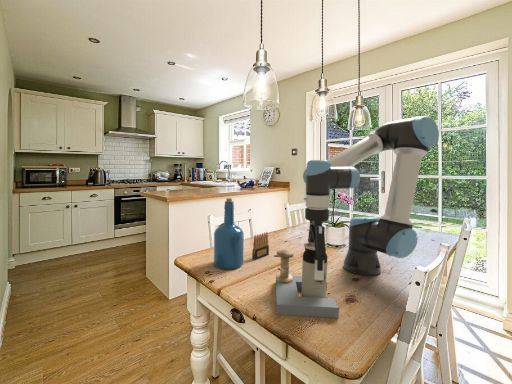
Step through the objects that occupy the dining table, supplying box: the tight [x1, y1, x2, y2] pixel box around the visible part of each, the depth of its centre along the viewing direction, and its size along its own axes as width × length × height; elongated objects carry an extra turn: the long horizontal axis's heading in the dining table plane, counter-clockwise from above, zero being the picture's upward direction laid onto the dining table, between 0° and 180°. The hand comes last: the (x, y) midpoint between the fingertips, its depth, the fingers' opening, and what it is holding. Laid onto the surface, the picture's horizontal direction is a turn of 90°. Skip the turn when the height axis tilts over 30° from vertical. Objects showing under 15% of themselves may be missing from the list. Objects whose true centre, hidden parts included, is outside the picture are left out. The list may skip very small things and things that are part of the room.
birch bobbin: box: [275, 249, 294, 283], centre depth 93 cm, size 6×6×10 cm
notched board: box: [275, 274, 340, 319], centre depth 86 cm, size 18×22×3 cm
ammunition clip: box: [251, 231, 270, 261], centre depth 126 cm, size 11×2×12 cm, turn 139°
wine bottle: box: [213, 197, 245, 270], centre depth 114 cm, size 14×13×30 cm
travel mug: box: [300, 242, 328, 298], centre depth 86 cm, size 8×8×18 cm
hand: (315, 271), depth 86 cm, fingers open, 13 cm apart
